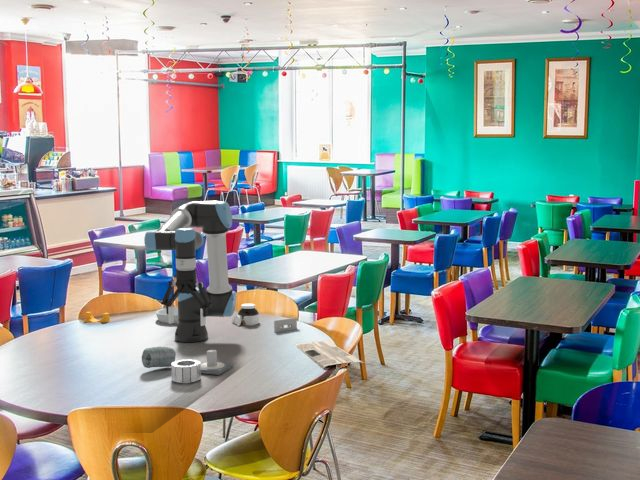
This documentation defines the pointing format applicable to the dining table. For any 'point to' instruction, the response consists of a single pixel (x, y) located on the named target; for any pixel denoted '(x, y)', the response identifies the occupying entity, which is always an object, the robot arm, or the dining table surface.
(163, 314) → the serving bowl
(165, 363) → the spool
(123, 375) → the dining table surface
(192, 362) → the ring
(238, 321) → the spread jar
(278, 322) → the cassette
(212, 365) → the post block
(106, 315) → the pipe clamp
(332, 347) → the newspaper
